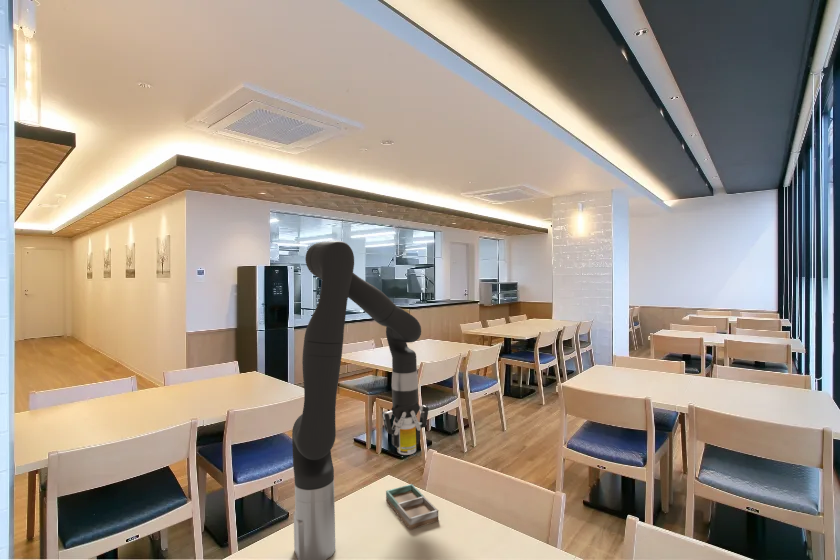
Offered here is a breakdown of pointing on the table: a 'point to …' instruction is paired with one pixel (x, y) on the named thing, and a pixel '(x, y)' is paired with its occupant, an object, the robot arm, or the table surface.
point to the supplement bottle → (407, 437)
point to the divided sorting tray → (411, 506)
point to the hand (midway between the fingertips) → (406, 444)
